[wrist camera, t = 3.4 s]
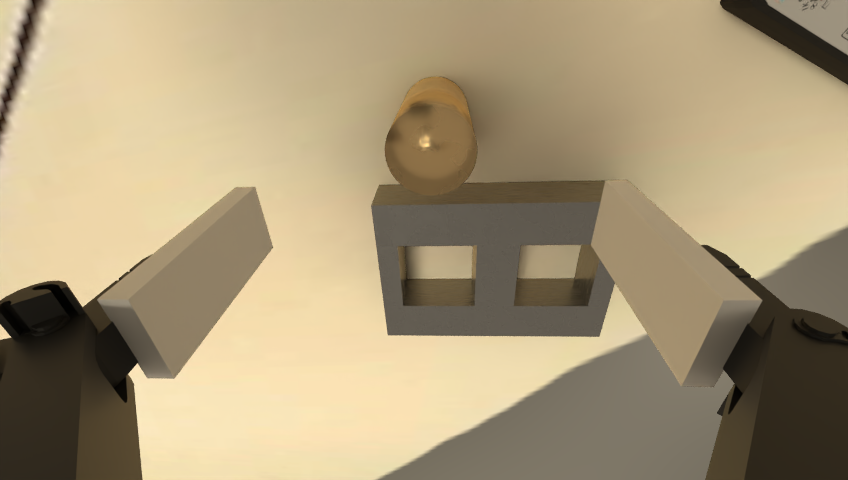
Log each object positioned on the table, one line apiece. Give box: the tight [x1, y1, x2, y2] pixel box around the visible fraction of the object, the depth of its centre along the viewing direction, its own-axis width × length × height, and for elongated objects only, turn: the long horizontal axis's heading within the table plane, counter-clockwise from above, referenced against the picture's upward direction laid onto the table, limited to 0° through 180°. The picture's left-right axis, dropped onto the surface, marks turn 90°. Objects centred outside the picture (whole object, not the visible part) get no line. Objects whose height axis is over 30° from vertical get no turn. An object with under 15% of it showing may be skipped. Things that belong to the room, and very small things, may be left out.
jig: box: [371, 181, 615, 337], centre depth 33 cm, size 20×14×4 cm
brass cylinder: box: [385, 77, 477, 195], centre depth 24 cm, size 5×5×10 cm
